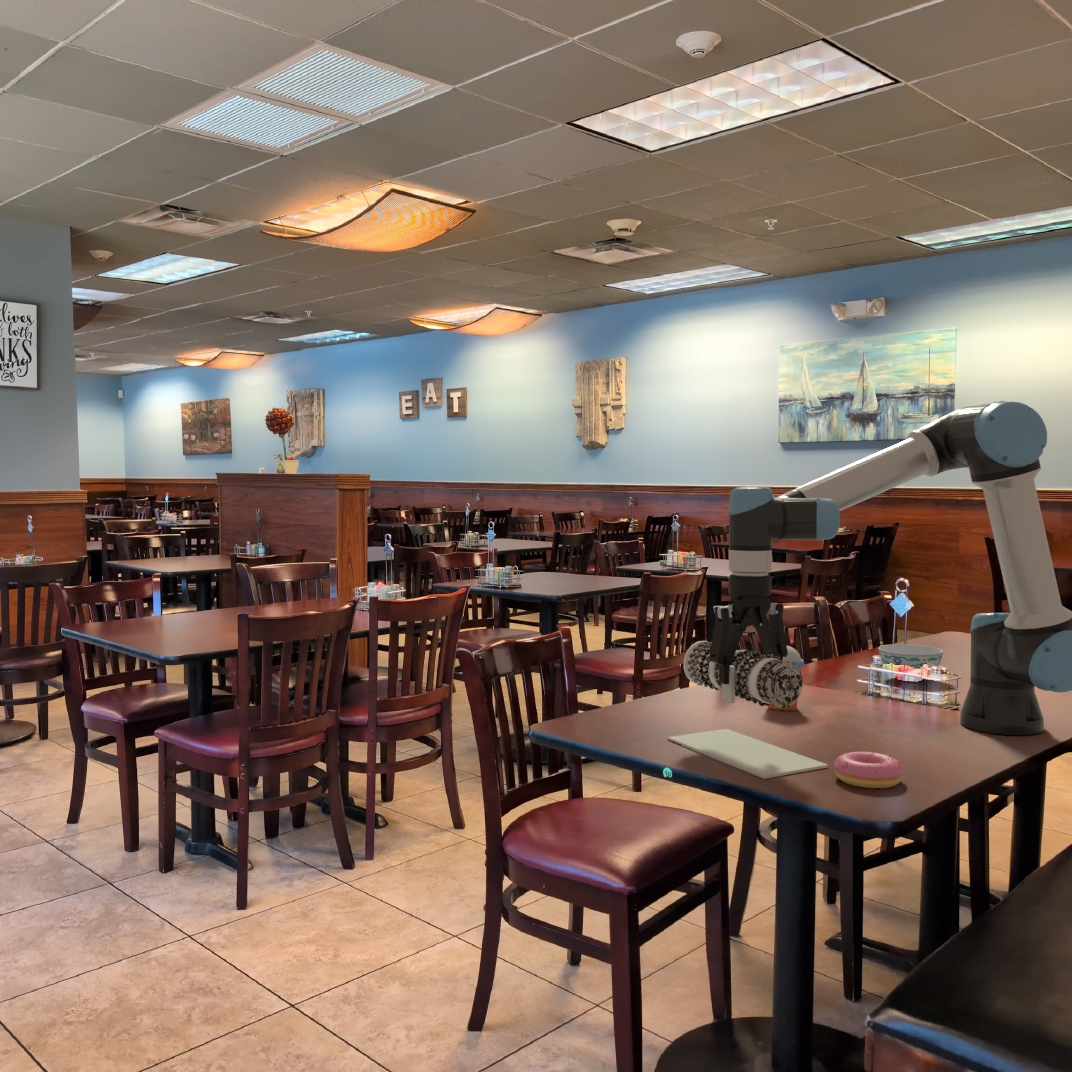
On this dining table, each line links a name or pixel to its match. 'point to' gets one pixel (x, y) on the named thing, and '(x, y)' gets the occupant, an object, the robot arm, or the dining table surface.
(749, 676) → the decorative candle
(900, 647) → the chinaware
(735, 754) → the sage rubber mat
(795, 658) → the cup with straw
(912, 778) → the dining table surface
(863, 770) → the doughnut
